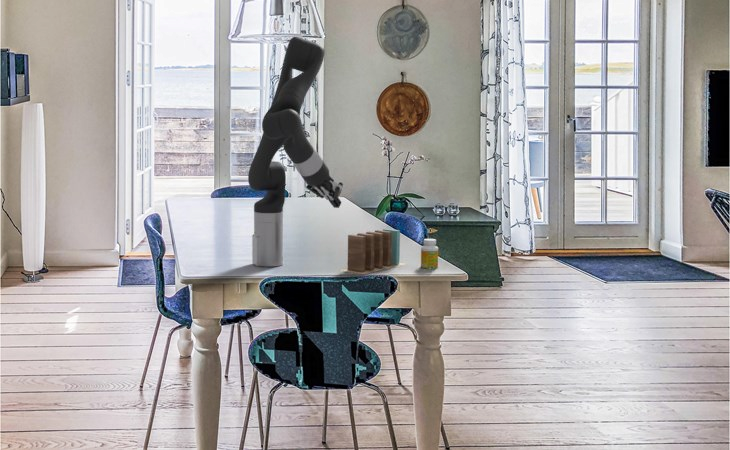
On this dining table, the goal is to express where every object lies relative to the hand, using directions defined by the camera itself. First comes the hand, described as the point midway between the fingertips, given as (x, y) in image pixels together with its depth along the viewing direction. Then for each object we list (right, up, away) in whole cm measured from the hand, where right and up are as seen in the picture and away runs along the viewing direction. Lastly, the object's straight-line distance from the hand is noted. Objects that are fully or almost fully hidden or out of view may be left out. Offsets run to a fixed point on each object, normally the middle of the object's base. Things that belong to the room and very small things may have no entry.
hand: (337, 205), depth 250 cm
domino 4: (+14, -19, +22) cm, 32 cm away
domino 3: (+11, -19, +18) cm, 28 cm away
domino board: (+11, -20, +18) cm, 29 cm away
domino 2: (+8, -19, +15) cm, 26 cm away
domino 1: (+5, -20, +11) cm, 23 cm away
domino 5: (+16, -18, +25) cm, 35 cm away
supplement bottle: (+28, -20, +19) cm, 40 cm away
